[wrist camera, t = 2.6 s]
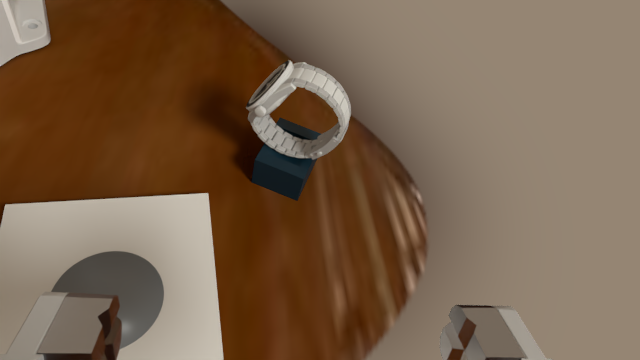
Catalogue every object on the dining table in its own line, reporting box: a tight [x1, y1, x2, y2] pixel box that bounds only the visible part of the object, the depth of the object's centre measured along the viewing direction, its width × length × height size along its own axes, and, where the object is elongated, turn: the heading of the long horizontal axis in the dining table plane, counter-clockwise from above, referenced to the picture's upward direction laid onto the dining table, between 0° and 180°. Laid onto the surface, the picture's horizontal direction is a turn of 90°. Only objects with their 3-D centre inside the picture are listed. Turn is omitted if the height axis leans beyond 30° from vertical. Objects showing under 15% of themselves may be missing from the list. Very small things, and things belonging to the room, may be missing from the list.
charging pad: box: [0, 193, 223, 360], centre depth 29 cm, size 16×21×1 cm
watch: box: [246, 60, 351, 200], centre depth 36 cm, size 6×8×11 cm
